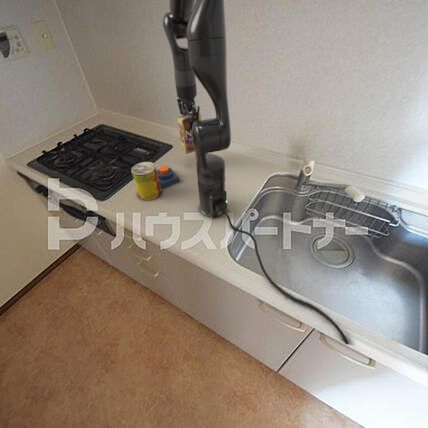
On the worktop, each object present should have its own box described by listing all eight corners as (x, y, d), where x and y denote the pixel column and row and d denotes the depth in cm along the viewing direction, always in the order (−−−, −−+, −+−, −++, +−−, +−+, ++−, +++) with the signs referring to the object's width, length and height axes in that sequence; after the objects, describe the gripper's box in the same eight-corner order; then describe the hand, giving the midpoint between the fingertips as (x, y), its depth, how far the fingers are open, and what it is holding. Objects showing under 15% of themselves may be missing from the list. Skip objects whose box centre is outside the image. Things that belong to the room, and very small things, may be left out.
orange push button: (179, 181, 101) (178, 173, 99) (162, 188, 99) (161, 180, 96) (169, 170, 108) (167, 163, 105) (152, 177, 105) (150, 169, 102)
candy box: (186, 155, 103) (181, 120, 92) (181, 151, 105) (176, 116, 95) (203, 148, 106) (201, 114, 95) (198, 145, 108) (195, 111, 98)
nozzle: (171, 172, 100) (170, 168, 99) (162, 176, 99) (161, 172, 97) (166, 168, 102) (165, 164, 101) (158, 171, 101) (157, 167, 100)
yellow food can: (157, 200, 93) (150, 175, 85) (135, 199, 94) (127, 174, 86) (164, 186, 99) (158, 162, 91) (143, 185, 101) (136, 160, 92)
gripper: (167, 80, 90) (174, 124, 101) (186, 89, 81) (191, 136, 93) (185, 76, 92) (189, 120, 104) (204, 84, 84) (207, 131, 95)
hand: (190, 127), depth 98 cm, fingers closed on candy box, 4 cm apart
